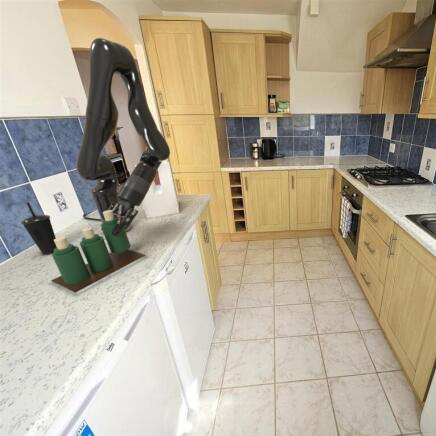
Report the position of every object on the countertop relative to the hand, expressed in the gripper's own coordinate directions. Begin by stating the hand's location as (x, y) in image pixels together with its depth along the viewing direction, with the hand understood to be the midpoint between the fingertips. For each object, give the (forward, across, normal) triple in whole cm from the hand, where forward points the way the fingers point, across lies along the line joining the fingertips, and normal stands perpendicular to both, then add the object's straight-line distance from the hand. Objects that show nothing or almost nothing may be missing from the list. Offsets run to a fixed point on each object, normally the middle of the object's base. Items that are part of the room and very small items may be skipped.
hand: (109, 233), depth 82 cm
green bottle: (+4, 0, +6) cm, 7 cm away
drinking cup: (+15, -31, +1) cm, 34 cm away
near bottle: (+16, +1, -2) cm, 16 cm away
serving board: (+12, +1, +4) cm, 12 cm away
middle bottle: (+11, +1, +3) cm, 11 cm away
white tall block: (-20, -34, +36) cm, 53 cm away
